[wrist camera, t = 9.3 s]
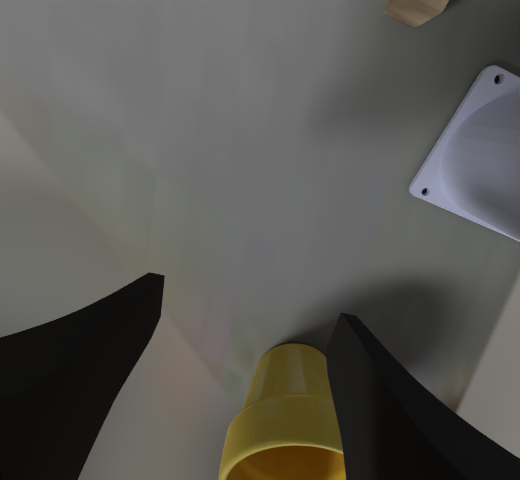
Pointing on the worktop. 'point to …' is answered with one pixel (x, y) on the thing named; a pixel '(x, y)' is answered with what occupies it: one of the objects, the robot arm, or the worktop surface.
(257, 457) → the plant pot
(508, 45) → the worktop surface
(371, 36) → the worktop surface
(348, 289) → the worktop surface
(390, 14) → the wooden u-shaped frame
